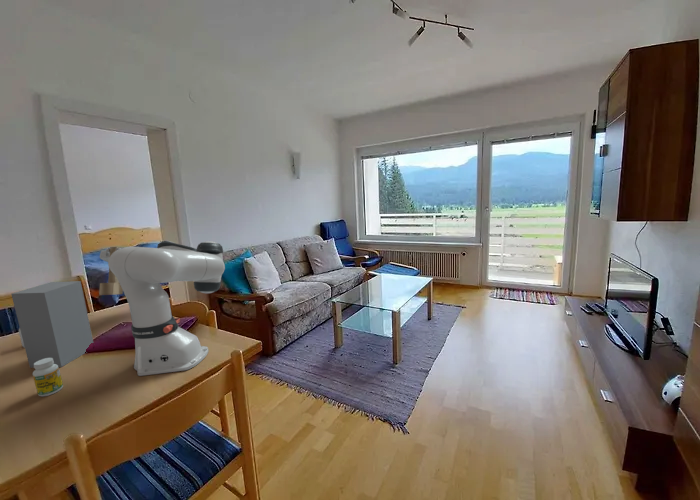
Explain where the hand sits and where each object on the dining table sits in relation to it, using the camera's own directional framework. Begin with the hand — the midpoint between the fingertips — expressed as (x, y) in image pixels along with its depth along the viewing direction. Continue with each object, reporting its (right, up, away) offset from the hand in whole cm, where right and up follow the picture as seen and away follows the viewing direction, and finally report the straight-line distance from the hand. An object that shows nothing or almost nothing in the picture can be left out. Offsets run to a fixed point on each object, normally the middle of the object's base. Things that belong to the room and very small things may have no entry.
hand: (112, 249), depth 132 cm
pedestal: (+1, -38, -23) cm, 45 cm away
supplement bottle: (+15, -42, -43) cm, 62 cm away
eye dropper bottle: (-22, -37, -12) cm, 45 cm away
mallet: (0, -9, +2) cm, 9 cm away
